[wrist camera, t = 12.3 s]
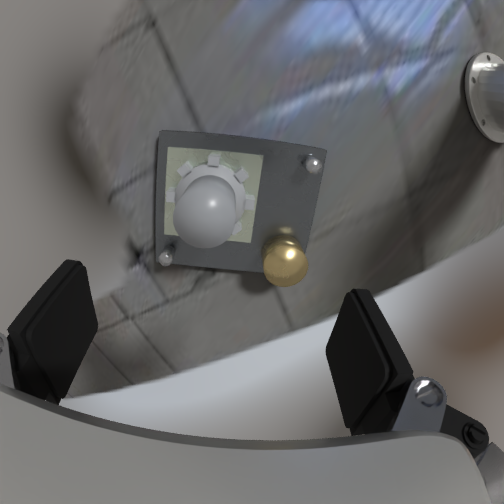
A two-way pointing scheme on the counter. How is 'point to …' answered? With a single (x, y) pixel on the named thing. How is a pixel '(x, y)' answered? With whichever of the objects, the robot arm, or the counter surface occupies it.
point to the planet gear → (209, 202)
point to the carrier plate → (253, 221)
